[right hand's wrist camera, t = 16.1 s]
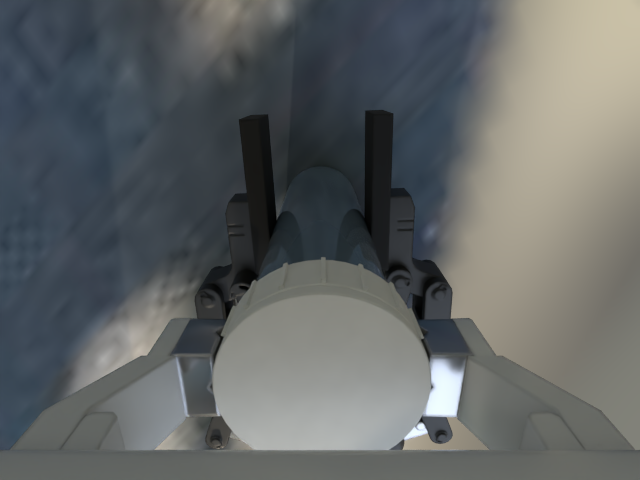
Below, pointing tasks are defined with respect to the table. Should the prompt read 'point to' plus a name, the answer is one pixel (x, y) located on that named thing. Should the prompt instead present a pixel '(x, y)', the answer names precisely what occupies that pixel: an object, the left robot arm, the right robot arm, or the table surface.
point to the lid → (321, 361)
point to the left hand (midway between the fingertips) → (316, 115)
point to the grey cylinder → (320, 224)
